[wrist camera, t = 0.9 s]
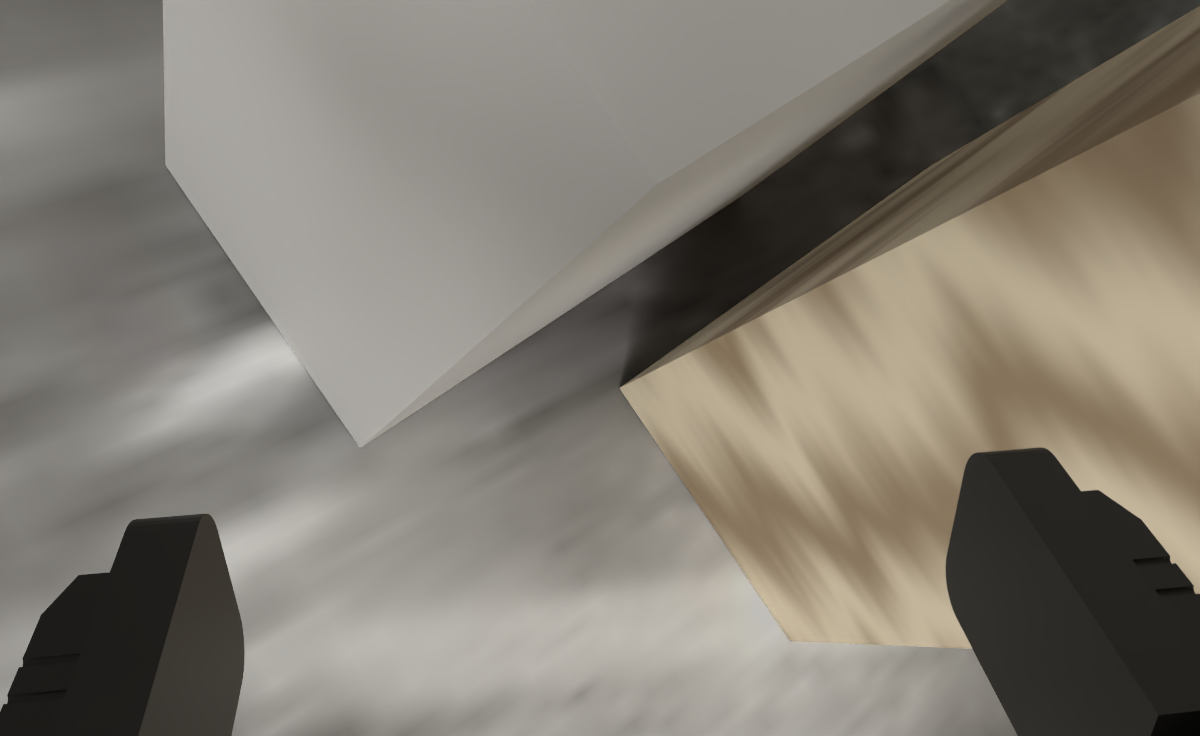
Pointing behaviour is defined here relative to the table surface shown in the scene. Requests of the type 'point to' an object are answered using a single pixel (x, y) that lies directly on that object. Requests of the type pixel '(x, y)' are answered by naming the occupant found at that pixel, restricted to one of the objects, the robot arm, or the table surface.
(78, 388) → the table surface
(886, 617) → the zigzag patterned pillar
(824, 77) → the ledge
